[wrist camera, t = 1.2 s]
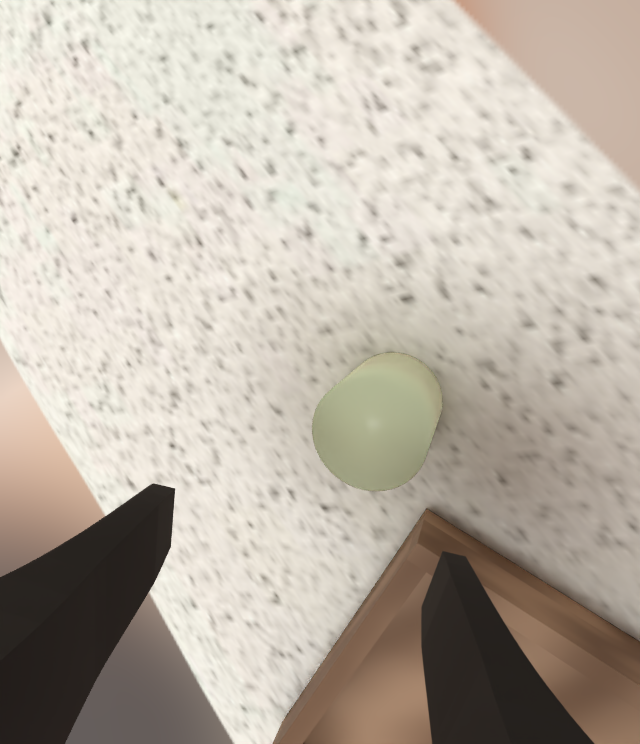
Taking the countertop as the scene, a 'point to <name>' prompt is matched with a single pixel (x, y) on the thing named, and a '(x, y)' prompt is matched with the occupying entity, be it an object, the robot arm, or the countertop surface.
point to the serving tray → (405, 663)
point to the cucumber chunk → (378, 422)
